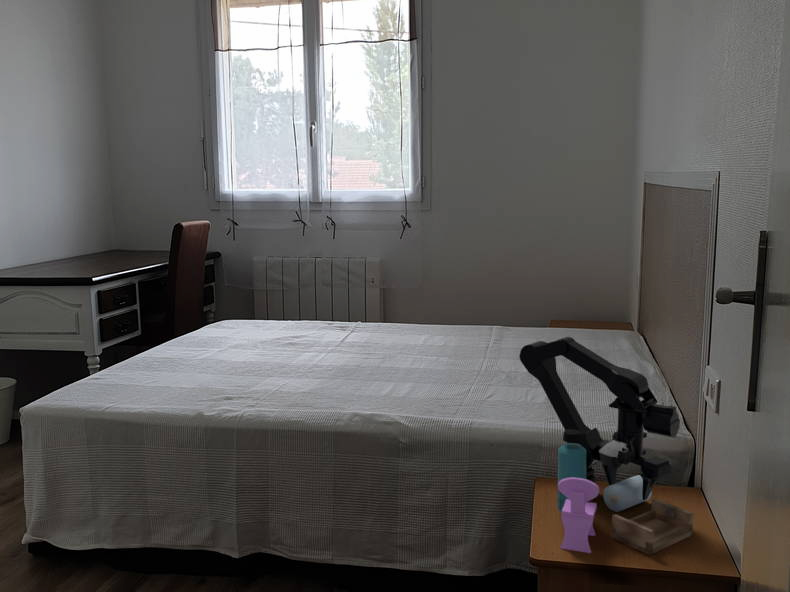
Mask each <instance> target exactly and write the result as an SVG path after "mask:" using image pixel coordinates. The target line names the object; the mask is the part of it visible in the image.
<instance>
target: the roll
mask: <svg viewBox="0 0 790 592" xmlns="http://www.w3.org/2000/svg"><path fill="white" fill-rule="evenodd" d="M642 489H643V479H642V477H641V476H640V474H639V475H634V476H631V477H629V478H626V479H624V480H621V481H618V482H615V484H612V485H608V486H606V487H605V488H604V490H603V493H602V494H603V502H604V503H605V504H606V506H607V508H608V509H610V510H611V511H612V512H613V511H614V512H616V513H618V512H621V511H624V510H626V509H628V508H631V507H634V506H636V505H639V504H641V503H644V502H646V501H648V500H650V499H651V497H652V495H653V490H652V491H651V493H650V494H649V496H648V498H647V499H646V500H643V497H642Z"/></svg>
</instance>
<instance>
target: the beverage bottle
mask: <svg viewBox="0 0 790 592" xmlns="http://www.w3.org/2000/svg"><path fill="white" fill-rule="evenodd" d="M562 435H563V437H562V441H563V442H565V443H563V444H562V445H561V446H560V447H559V448H558V450H557V452H558V458H557V460H558V461H557V462H558V464H557V465H558V467H557V484H558V483H559V481H560V480H562V479H565V478H570V477H575V478H583V479H586V478H587V477H586V472H587V471H586V454H587V451H586V449H585V448H584V447H583V446H581V445H580V444H576V443H580V442H582V434H581V432H580V431H579V430H574V429H568V430H565V429H564V431H563V434H562ZM567 442H568V443H567ZM566 499H568V498H567V497H566V496H565V495H564V494H562V493H561V492H560V491H559V489H558V488H557V510H558V512H559V513H561V514H562V509H563V507H564V504H565V501H566ZM569 500H570V499H569Z"/></svg>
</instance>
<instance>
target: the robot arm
mask: <svg viewBox="0 0 790 592" xmlns="http://www.w3.org/2000/svg"><path fill="white" fill-rule="evenodd" d="M518 356H519V357H518V358H519V360H520V362H521V364H522V365H523V367H524V368H525V370H526V371H527V372H528V373H529V374H530V375H531V376H532V377H534V378H535V379H536V380H537V381H538V382H539V384H540V385H541V387H542V389H543V391H544V393H545V395H546V397H547V398H548V399H547V400H548V401H549V402H550V404H551V407H552V409H553V410H554V412H555V413H556V415H557V417H558V420H559V421H560V423H561V426H562V427H563V430H564V431H565V430H568V429H574V430H579V431H580V432H581V434H582V442H580V443H576V444H580V445H581V446H583V447H584V448H585V449H586V451H587V454H586V471H587V472H586V477H587V478H586V480H589V481H591V482H593V483H595V484H596V476H595V469H594V468H592V467H593V466H596V465H597V464H598V462H599V464H601V466H602V468H603V470H604V473H605V477H606V479H607V482H608V486H610V485H612V484H615V483H616V479H617V472H618V469H619V468H620V467H621V466H622V465H625V466H627V465H628V464H629V463H631V464H634V465H636V466H640V471H641V473H640V474H639V475H640V476H641V477H642V479H643V489H642V497H643V500H646V499H647V498H648V496H649V494H650V493H651V491H652V492H653V489H654V487H655V485H656V484H657V482H658V480H659V479H660V478H661V477H663V476H666V475H669V474H671V473H672V463H671V462H670V461H669V460H668V459H665V458H662V457H659V456H657V455H655V456H652V457H649V458H645V457H643V456H646V454H647V450H646V449H644V438H647V435H648V434H651V435H652V434H653V435H657V436H662V437H668V438H671V439H674V438H676V437H677V435H678V433H679V431H680V426H681V425H680V424H681V419H680V416H679V413H678V412H677V407H676V406H674V405H663V404H658V399H657V398H656V396H655V394H654V393H653V391H652V390H651V388H650V387H649V382H648V379H647V377H646V376H644V375H643V374H642V373H639V372H636V371H634V370H632V369H630V368H625V367H621V366H617V365H615V364H613V363H612V362H611V361H609V360H607V359H605V358H604V357H602V356H600V355H599V354H597V353H596V352H594V351H592V350H591V349H589V348H587V347H586V346H584V345H582V344H581V343H579V342H578V341H576V340H575V339H574V338H573V337H570V336H565V337H562V338H559V339H557V340H554V341H549V342H547V341H544V340H538V341H535V342H531V343H529V344H525V345H524V346H523V347H522V348H521V350H520V353H519V355H518ZM559 356H562V357H564V358H565V359H567V360H569V361H570V362H572V363H573V364H575V365H577V366H578V367H579V368H581V369H583V370H584V371H585V372H587V373H589V374H590V375H592V376H594V377H595V378H597V379H599V380H600V381H602V383H604V384H605V386H606V388H607V389H608V390H609V392H611V393H612V394H613V395H614V396H615V397H616V398H615V399H614V400H613V401H612V402H611V403H609V405H608V407H609V408H610V409H611V408H612V409H617V428H616V429H617V431H615V432H613V435H612V439H611V440H607V439H603V438H602V437H601V435H600V432H599V429H598V428H597V427H593V428H592V429H591V428H590V427H589V426H587V425H586V424H585V422H584V420H583V418H582V416H581V415H580V413H579V411H578V410H577V408H576V405H575V403H574V402H573V400H572V398H571V396H570V394H569V392H568V391H567V389H566V387H565V385H564V382H563V381H562V379H561V378H560V375H559V374H558V370H557V359H556V358H557V357H559ZM641 398H642V399H643V400H641ZM645 431H646V432H645ZM566 443H568V442H566Z"/></svg>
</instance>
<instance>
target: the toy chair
mask: <svg viewBox="0 0 790 592" xmlns="http://www.w3.org/2000/svg"><path fill="white" fill-rule="evenodd" d="M558 489H559V491H560V492H561V493H562V494H564V495H565V496H566V497H567V498H568V499H566V501H565V504H564V507H563V509H562V513H561V516H560V517H561V522H562V525H563V528H564V538H563V540H562V542H561V544H560V547H559V548H560V549H562V550H568V551H574V552H582V553H588V554H592V550H591V547H590V542H589V536H592V537H596V532H595V529H594V528H595V527H594V524H593V523H594V518H595V513H596V512H597V505H598V504H597V502H590V501H592V500H594V499H595V498H597V497H598V495H599V493H600V487H599V486H598V484H596V482H595V483H593V482H591V481H589V480H586V479H583V478H575V477H570V478H565V479H562V480H560V481H559V483H558V482H557V490H558ZM569 499H570V500H569Z"/></svg>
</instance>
